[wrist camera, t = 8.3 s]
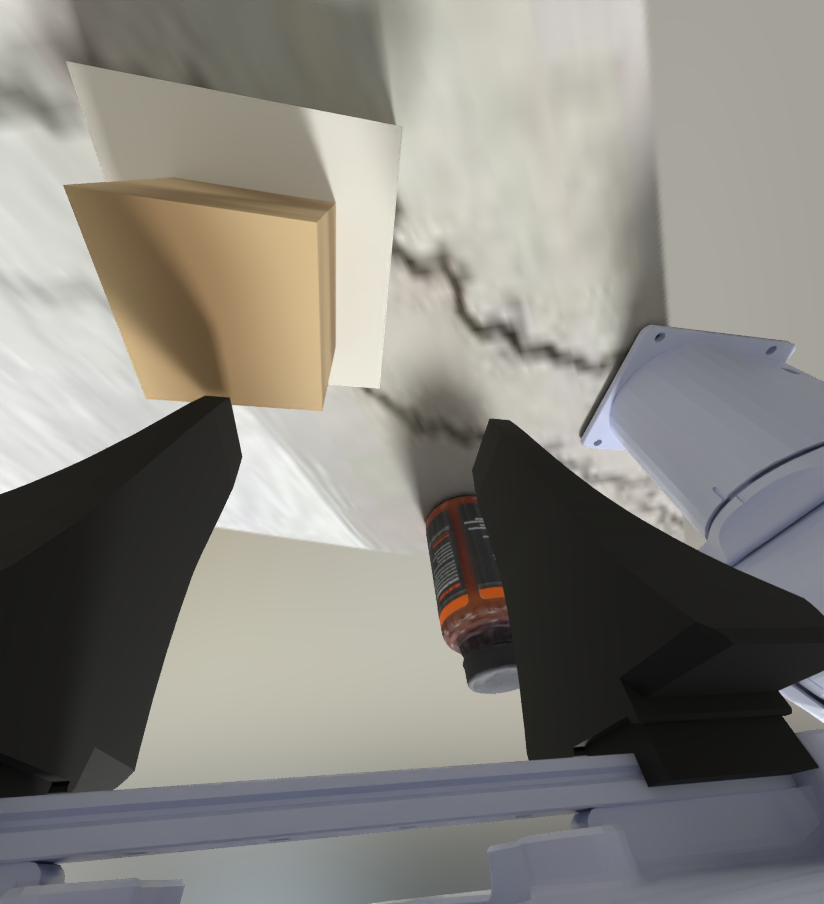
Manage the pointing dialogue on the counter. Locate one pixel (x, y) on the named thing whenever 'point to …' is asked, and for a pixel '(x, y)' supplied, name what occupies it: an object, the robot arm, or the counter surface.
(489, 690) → the supplement bottle
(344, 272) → the base block
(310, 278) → the oak block
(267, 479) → the counter surface
